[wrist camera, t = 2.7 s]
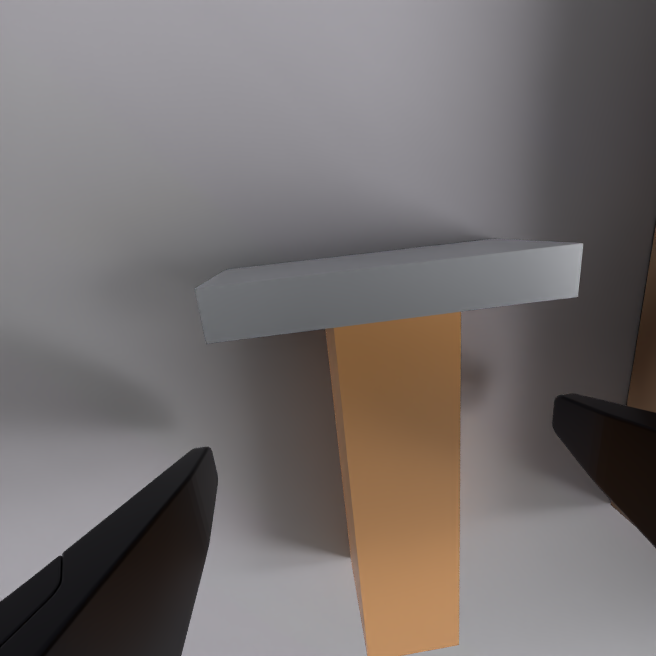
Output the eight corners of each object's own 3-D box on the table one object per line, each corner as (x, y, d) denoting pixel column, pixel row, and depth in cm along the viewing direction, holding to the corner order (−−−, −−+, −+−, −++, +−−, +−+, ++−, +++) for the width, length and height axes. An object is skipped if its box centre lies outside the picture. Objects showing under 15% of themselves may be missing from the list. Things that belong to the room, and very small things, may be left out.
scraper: (483, 533, 12) (543, 629, 9) (283, 567, 12) (278, 678, 9) (492, 238, 9) (583, 242, 6) (227, 268, 9) (193, 288, 6)
